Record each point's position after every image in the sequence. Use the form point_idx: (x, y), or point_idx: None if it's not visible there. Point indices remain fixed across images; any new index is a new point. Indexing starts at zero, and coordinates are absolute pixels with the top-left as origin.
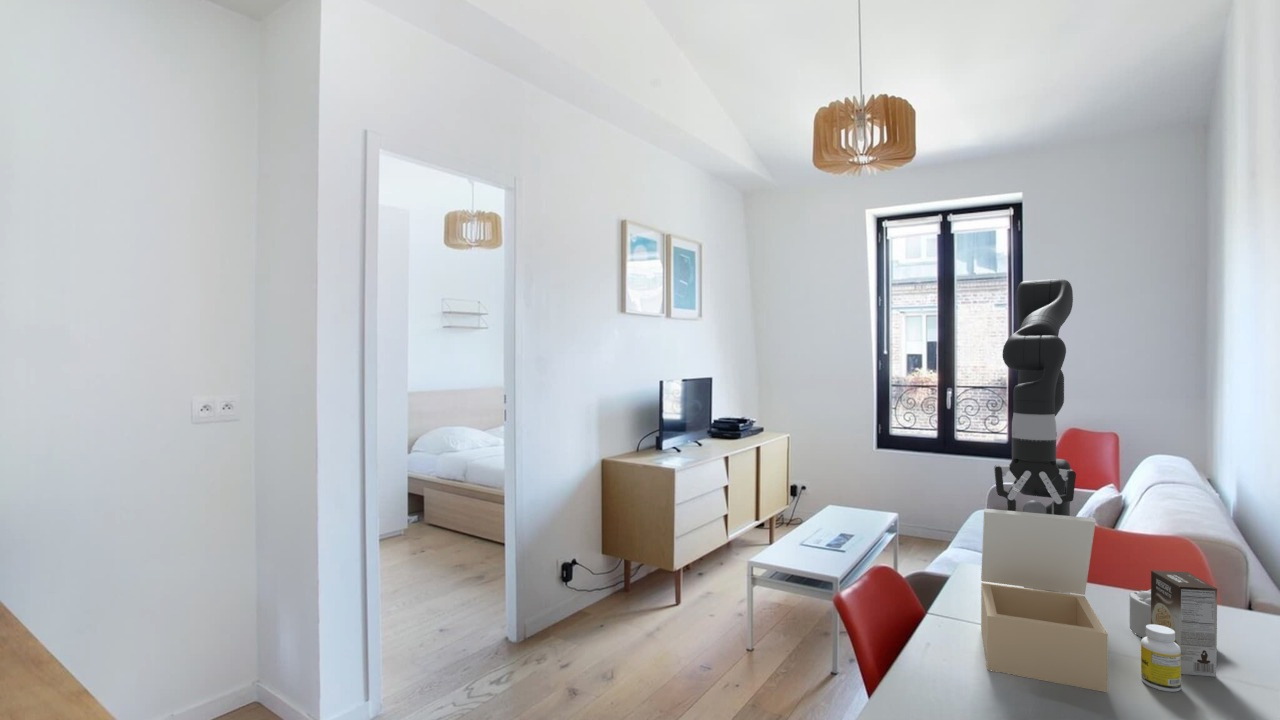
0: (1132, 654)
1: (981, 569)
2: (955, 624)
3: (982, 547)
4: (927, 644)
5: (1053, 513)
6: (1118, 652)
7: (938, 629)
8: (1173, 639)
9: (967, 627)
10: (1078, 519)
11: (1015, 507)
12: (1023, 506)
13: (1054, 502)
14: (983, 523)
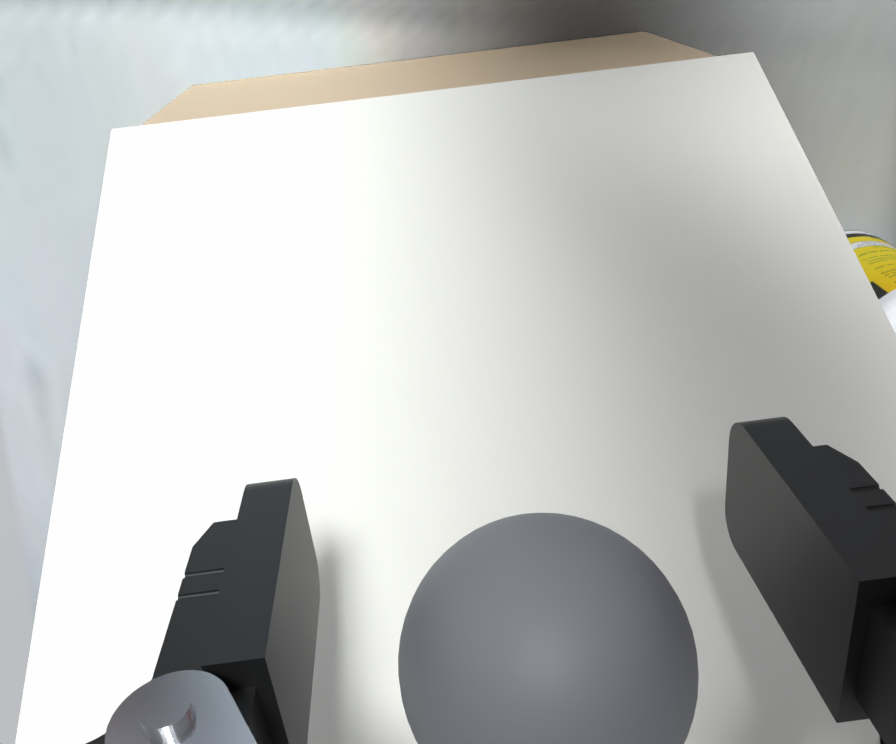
0: (833, 11)
1: (102, 189)
2: (63, 79)
3: (74, 405)
4: (37, 386)
5: (772, 590)
6: (778, 21)
7: (16, 197)
8: None
9: (126, 88)
10: None
11: (306, 708)
12: (410, 724)
13: (866, 711)
14: (27, 714)
